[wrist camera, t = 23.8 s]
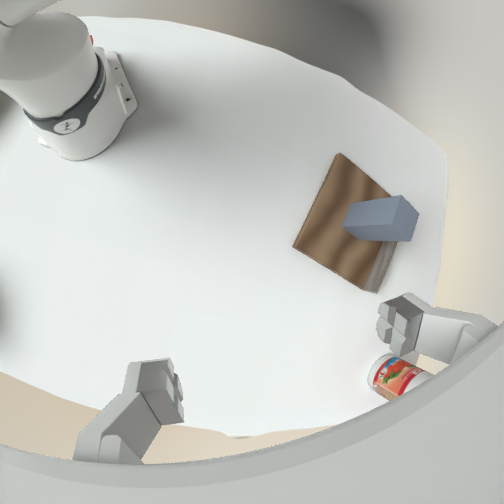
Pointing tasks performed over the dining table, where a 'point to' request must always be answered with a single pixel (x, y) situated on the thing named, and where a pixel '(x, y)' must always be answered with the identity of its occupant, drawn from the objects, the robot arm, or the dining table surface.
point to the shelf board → (337, 238)
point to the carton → (381, 220)
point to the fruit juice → (395, 377)
